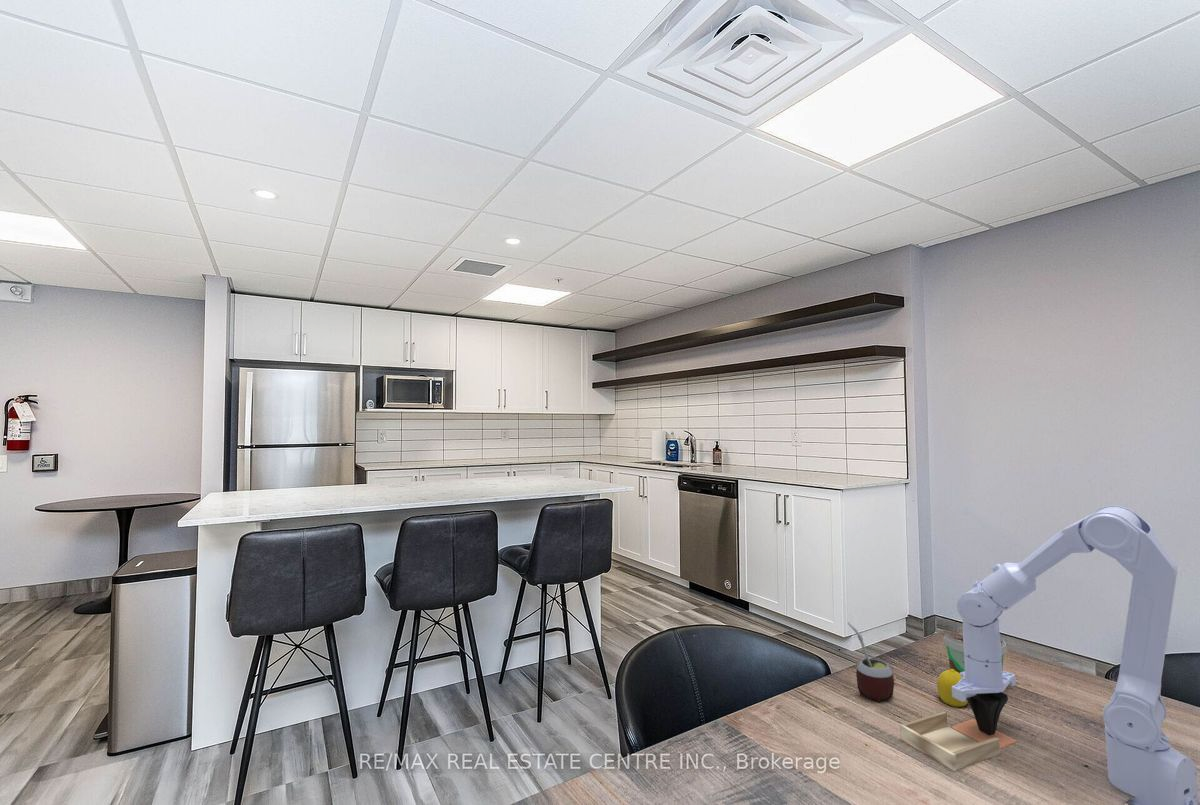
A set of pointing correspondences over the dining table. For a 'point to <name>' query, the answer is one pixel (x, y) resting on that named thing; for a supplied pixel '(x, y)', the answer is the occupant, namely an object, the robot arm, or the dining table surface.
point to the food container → (962, 652)
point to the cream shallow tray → (946, 742)
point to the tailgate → (982, 733)
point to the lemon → (949, 687)
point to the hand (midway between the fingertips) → (986, 731)
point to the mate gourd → (873, 676)
